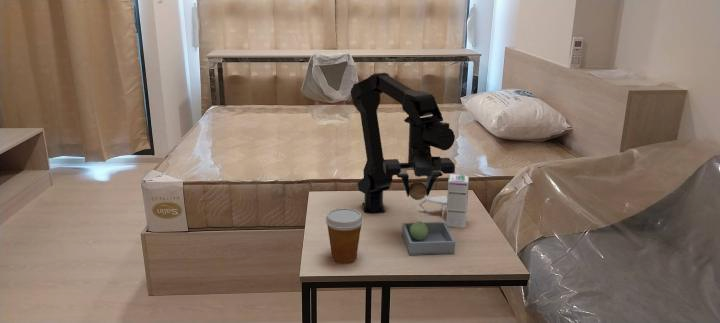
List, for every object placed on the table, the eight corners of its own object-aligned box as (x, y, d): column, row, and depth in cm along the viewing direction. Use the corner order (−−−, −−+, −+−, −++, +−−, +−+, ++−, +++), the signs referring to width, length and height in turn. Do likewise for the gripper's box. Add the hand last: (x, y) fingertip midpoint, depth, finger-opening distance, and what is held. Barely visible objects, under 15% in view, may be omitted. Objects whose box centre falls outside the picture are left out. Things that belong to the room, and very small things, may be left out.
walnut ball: (406, 196, 149) (407, 179, 148) (424, 195, 150) (425, 178, 148) (410, 203, 145) (410, 185, 143) (428, 202, 145) (428, 185, 144)
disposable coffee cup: (335, 270, 131) (335, 226, 127) (319, 253, 139) (319, 211, 135) (369, 261, 135) (370, 218, 131) (352, 245, 143) (352, 204, 139)
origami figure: (455, 207, 168) (456, 193, 166) (460, 219, 160) (461, 204, 159) (417, 207, 168) (418, 193, 166) (420, 219, 160) (421, 204, 158)
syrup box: (465, 228, 154) (469, 181, 149) (444, 226, 155) (448, 180, 150) (465, 220, 159) (469, 174, 155) (445, 218, 160) (449, 173, 156)
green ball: (408, 235, 149) (408, 219, 147) (425, 234, 149) (426, 218, 147) (411, 243, 144) (411, 227, 142) (429, 242, 144) (430, 226, 143)
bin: (401, 234, 150) (402, 222, 149) (443, 233, 151) (444, 221, 150) (409, 255, 139) (410, 243, 138) (454, 253, 140) (455, 241, 139)
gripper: (389, 151, 134) (388, 208, 138) (462, 149, 135) (458, 205, 140) (383, 139, 144) (382, 192, 149) (450, 137, 146) (447, 190, 151)
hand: (417, 195), depth 147 cm, fingers closed on walnut ball, 5 cm apart
